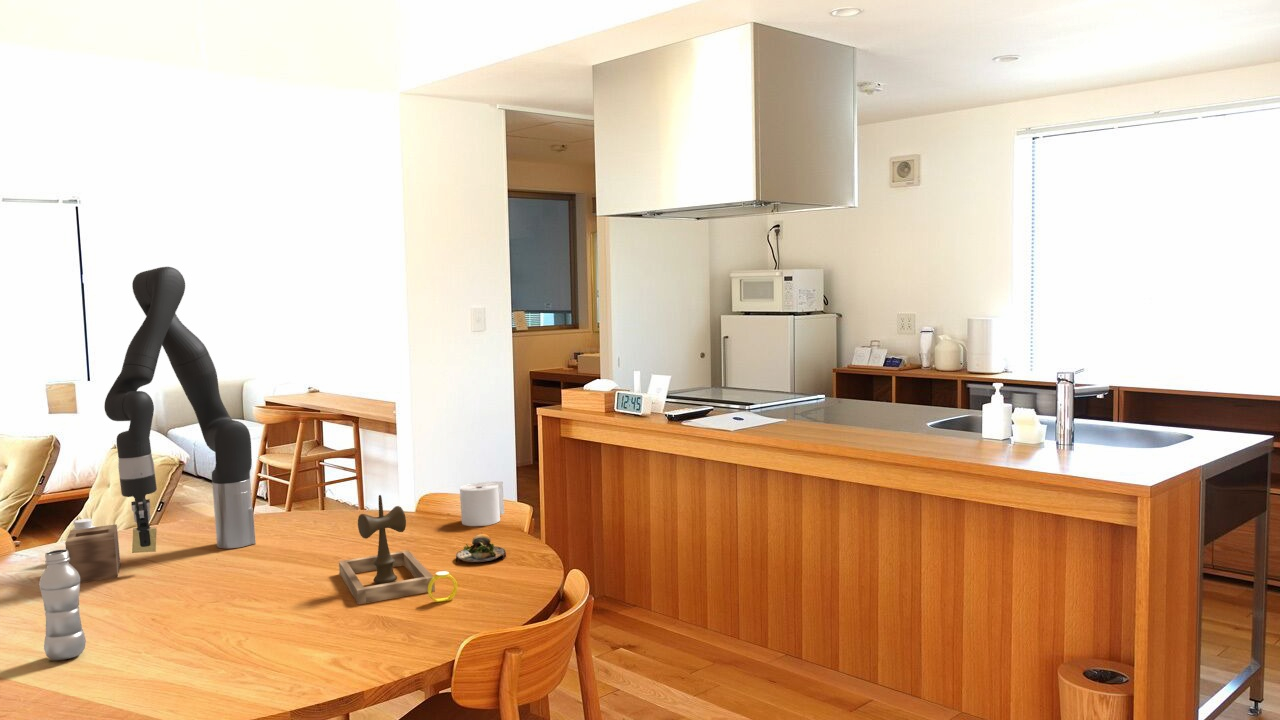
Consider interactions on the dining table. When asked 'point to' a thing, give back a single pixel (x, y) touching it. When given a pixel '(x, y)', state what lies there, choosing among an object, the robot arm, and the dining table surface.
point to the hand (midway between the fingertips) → (145, 544)
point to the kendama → (383, 538)
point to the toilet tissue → (481, 503)
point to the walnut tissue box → (94, 552)
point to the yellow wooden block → (136, 541)
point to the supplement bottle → (83, 524)
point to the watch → (442, 575)
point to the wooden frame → (388, 589)
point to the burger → (480, 550)
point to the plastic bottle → (61, 607)
